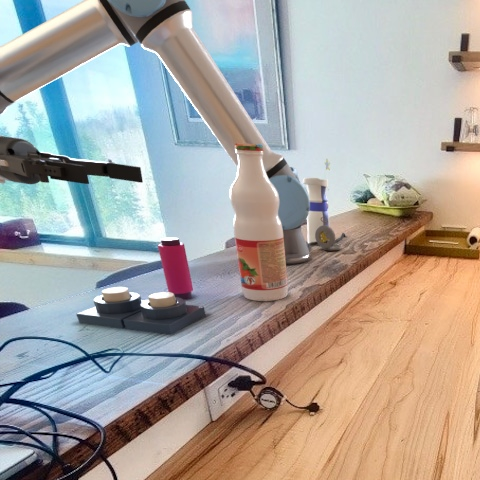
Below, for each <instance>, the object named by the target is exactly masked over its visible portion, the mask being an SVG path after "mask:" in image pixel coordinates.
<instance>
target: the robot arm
mask: <svg viewBox="0 0 480 480" xmlns="http://www.w3.org/2000/svg"><path fill="white" fill-rule="evenodd" d="M193 16H194V15H193V11H192V9H191V8H190V6H189V5H188V3H187V1H186V0H82V1H81V2H78V3H77V4H75V5H73V6H71V7H69V8H68V9H66V10H65V11H61V12H60V13H58V14H57V15H55V16H53V17H51V18H50V19H48V20H46V21H44V22H43V23H40V24H39V25H37V26H35V27H33V28H32V29H30V30H28V31H26V32H25V33H22V34H20V35H19V36H16V37H15V38H13V39H12V40H9V41H8V42H6V43H4V44H2V45H1V46H0V117H1V116H2V115H4V114H5V113H6V112H7V111H8V107H9V106H11V105H13V104H14V103H16V102H17V101H19V100H21V99H23V98H25V97H27V96H28V95H30V94H33V93H34V92H36V91H37V90H39V89H41V88H43V87H46V85H48V84H50V83H52V82H54V81H56V80H58V79H60V78H61V77H63V76H65V75H66V74H68V73H70V72H72V71H74V70H76V69H78V68H80V67H81V66H83V65H85V64H86V63H88V62H90V61H92V60H94V59H96V58H98V57H99V56H101V55H103V54H105V53H106V52H108V51H111V50H112V49H114V48H116V47H117V46H119V45H124V46H126V47H132V46H134V45H135V44H137V43H139V44H140V46H141V47H142V48H143V49H144V50H147V51H148V52H152V53H155V54H156V55H157V56H158V58H159V59H160V60H161V62H162V63H163V65H164V66H165V68H166V69H167V71H168V72H169V73H170V75H171V76H172V78H173V79H174V81H175V82H176V83H177V85H178V86H179V87H180V89H181V91H182V92H183V94H184V96H186V98H187V99H188V100H189V102H190V104H192V107H194V109H195V110H196V112H197V113H198V114H199V116H200V117H201V119H202V120H203V122H204V123H205V124H206V126H207V128H208V129H209V130H210V131H211V134H213V136H214V137H215V139H216V140H217V141H218V143H219V144H220V145H221V147H222V149H223V150H224V151H225V153H226V154H227V156H228V157H229V158H230V161H232V162H233V164H234V166H235V167H236V168H237V169H238V155H237V154H236V150H235V143H242V144H259V145H262V146H263V155H262V160H263V165H264V168H265V171H266V174H267V176H268V178H269V180H270V181H271V183H272V184H273V185H274V186H275V188H276V189H277V191H278V194H279V209H278V216H279V218H280V220H281V223H282V228H283V237H284V250H285V261H286V265H297V264H302V263H306V262H308V261H309V260H310V258H311V256H310V254H311V253H310V250H309V249H310V247H311V246H320V245H319V244H318V243H317V242H311V243H308V242H306V238H305V236H304V234H303V231H302V224H304V222H305V221H307V216H308V214H309V210H310V200H309V195H308V190H307V187H305V184H302V181H300V178H299V175H298V170H297V169H296V168H295V167H293V166H290V165H289V164H288V162H287V160H286V159H285V157H284V156H283V155H282V154H279V153H276V152H273V151H272V149H271V147H270V146H269V144H268V143H267V141H266V140H265V138H264V137H263V135H262V134H261V132H260V130H259V129H258V127H257V125H256V124H255V123H254V121H253V120H252V118H251V116H250V115H249V113H248V112H247V110H246V109H245V107H244V105H243V104H242V102H241V101H240V99H239V98H238V96H237V95H236V93H235V91H234V90H233V88H232V87H231V85H230V83H229V82H228V80H227V79H226V78H225V76H224V74H223V73H222V70H220V68H219V66H218V64H217V63H216V62H215V60H214V59H213V57H212V55H211V53H210V52H209V51H208V50H207V48H206V46H205V44H204V43H203V42H202V40H201V38H200V37H199V35H198V33H197V32H196V30H195V29H194V25H193V18H194V17H193ZM89 176H95V177H105V178H106V177H107V178H109V179H113V180H121V181H126V182H134V183H140V184H141V183H142V184H143V182H144V181H143V176H142V168H141V167H140V166H136V165H128V164H121V163H116V162H114V161H113V160H112V158H107V161H100V160H99V161H98V160H90V159H80V158H72V157H69V156H67V155H60V154H53V153H51V152H44V151H39V149H38V148H37V147H36V146H35V145H33V143H31V142H30V141H29V140H27V139H23V138H19V137H11V136H4V135H0V184H3V185H4V184H6V181H8V182H13V183H17V184H18V183H19V184H24V185H36V184H38V183H45V184H46V183H48V184H49V183H50V180H57V181H62V182H63V181H64V182H70V183H76V184H77V183H78V184H82V185H90V181H89ZM49 178H50V180H49ZM343 238H347V236H346V233H345V232H342V233H341V235H340V237H338V238H336V239H335V243H338V242H341V241H342V240H343ZM328 242H329V241H325V242H324V243H328ZM335 243H334V244H335Z"/></svg>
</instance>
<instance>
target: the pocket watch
mask: <svg viewBox="0 0 480 480" xmlns="http://www.w3.org/2000/svg"><path fill="white" fill-rule="evenodd" d="M322 218H326V217H322ZM322 218H321V219H322ZM326 219H327V218H326ZM321 221H322V220H321ZM322 222H323V223H324V225H322V226H320V227H319V228H318V229H317V230H316V233H315V238H316V241H317V243H318V244H319V245H318V246H319V247H320V249H321V250H324V251H329V252H335V251H339V250H342V248H343V247H342V246H343V245H340V244H335V240H336V239H337V238H336V233H335V231H334V230H333V228H331V227H330V225H329V226H326V223H327V222H328V219H327V222H326V220H324V221H322ZM321 235H322V237H321ZM321 238H322V239H321ZM326 240H327V241H328V240H329V242H328V243H324V242H325V241H326Z"/></svg>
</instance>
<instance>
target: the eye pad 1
mask: <svg viewBox="0 0 480 480" xmlns="http://www.w3.org/2000/svg"><path fill="white" fill-rule="evenodd" d="M129 292H130V291H129V288H128V287H125V286H114V287H113V286H112V287H107V288H104V289H102V290H101V295H103V298H104V301H108V302H114V301H123V300H127V299H130V294H129Z"/></svg>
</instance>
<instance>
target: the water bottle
mask: <svg viewBox="0 0 480 480" xmlns="http://www.w3.org/2000/svg"><path fill="white" fill-rule="evenodd" d="M324 164H325V171H327V170H328V171H330V165H331V162H330V161H329V160H328V158H326V159H325V162H324ZM301 183H302V184H303V185H306V190H307V192H308V195H309V200H310V210H309V214H308V216H307V218H306V224H307V225H306V227H307V244H308V243H311V242H317V241H316V238H315V233H316V230H317V229H318V228H319V227H320V226H322V225H324V223H323V222H322V221H324V220H326V222H327V219H328V222H327V223H326V226H329V227H330V214H329V211H328V209H329V202H328V201H329V199H328V197H327V191H329V190H330V188H329V178H326V179H320V178H318V177H303V179H302V181H301ZM322 217H326V218H327V219H326V218H322ZM321 218H322V219H321ZM321 220H322V221H321ZM321 237H322V235H321ZM321 239H322V238H321ZM326 241H327V240H326ZM328 241H329V240H328Z"/></svg>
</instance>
